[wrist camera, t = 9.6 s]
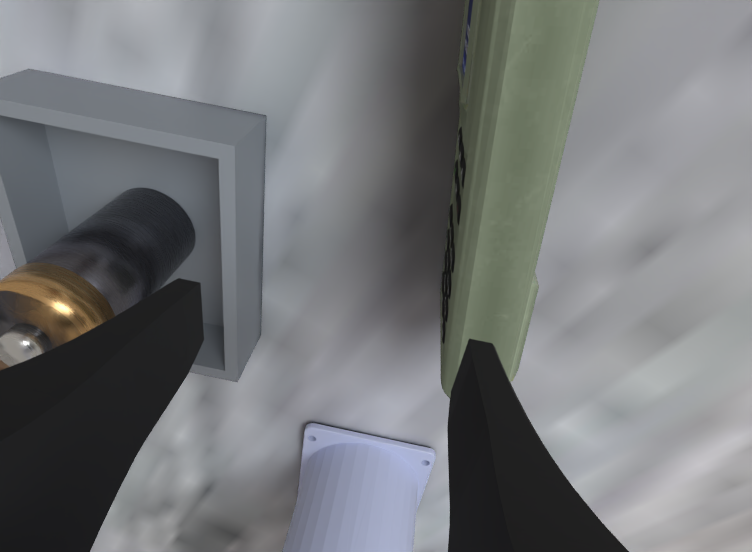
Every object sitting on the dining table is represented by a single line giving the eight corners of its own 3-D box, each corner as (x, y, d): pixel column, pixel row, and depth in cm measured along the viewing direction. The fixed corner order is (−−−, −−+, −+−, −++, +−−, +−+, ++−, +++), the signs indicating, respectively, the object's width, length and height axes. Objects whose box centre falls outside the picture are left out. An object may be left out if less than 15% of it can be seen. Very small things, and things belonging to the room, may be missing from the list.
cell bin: (261, 334, 28) (237, 382, 25) (82, 297, 28) (38, 339, 25) (266, 115, 21) (234, 145, 18) (28, 68, 21) (-40, 91, 18)
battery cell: (195, 274, 25) (81, 413, 18) (114, 251, 25) (-32, 380, 18) (197, 201, 23) (67, 326, 15) (108, 175, 23) (-63, 288, 15)
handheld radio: (431, 295, 25) (529, -660, 11) (499, 300, 25) (692, -668, 11) (428, 400, 20) (624, -1261, 5) (517, 408, 19) (968, -1307, 5)
